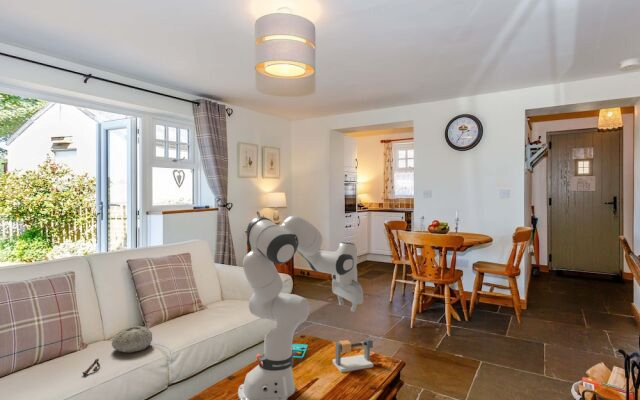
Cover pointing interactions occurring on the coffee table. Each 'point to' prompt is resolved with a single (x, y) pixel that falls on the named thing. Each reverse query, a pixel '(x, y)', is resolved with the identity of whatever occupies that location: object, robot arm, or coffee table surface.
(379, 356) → the coffee table surface
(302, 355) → the handheld gaming console
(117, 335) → the rock
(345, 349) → the marker sleeve
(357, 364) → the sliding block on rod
